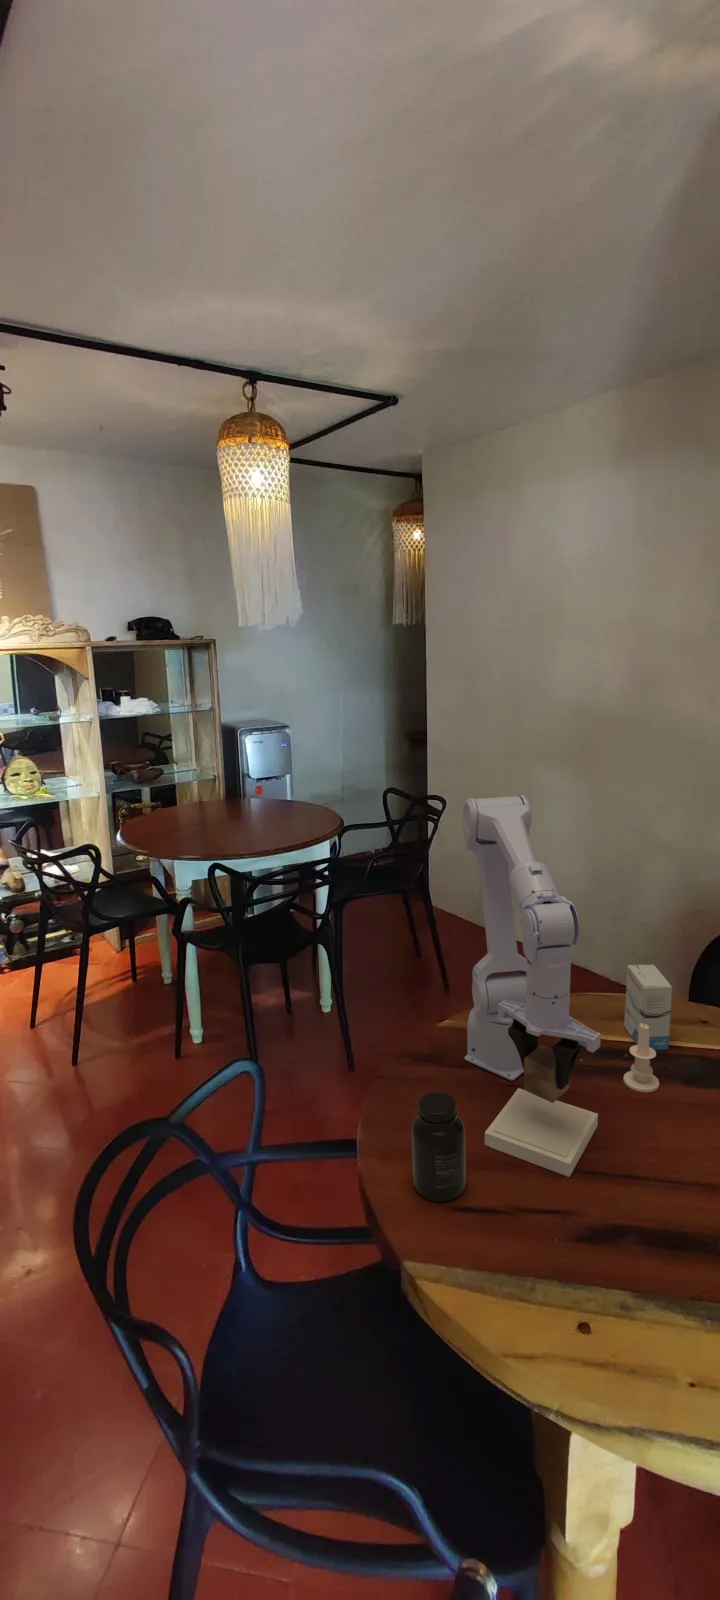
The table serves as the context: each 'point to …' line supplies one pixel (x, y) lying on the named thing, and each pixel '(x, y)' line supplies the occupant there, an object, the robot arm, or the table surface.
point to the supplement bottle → (438, 1148)
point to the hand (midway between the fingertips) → (546, 1078)
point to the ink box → (648, 1004)
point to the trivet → (542, 1131)
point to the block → (542, 1074)
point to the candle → (642, 1064)
